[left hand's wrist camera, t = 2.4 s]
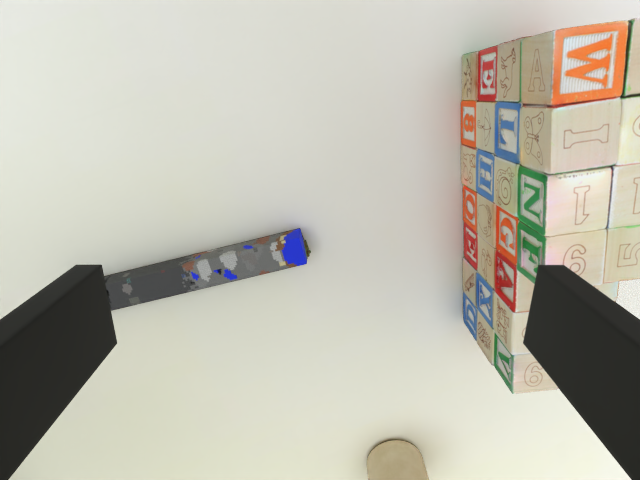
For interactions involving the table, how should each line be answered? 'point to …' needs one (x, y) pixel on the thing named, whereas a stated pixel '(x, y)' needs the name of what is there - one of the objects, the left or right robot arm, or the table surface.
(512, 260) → the stack of blocks
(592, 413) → the left robot arm
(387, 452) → the candle
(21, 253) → the table surface
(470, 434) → the table surface
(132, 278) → the blue-tipped grey rod
